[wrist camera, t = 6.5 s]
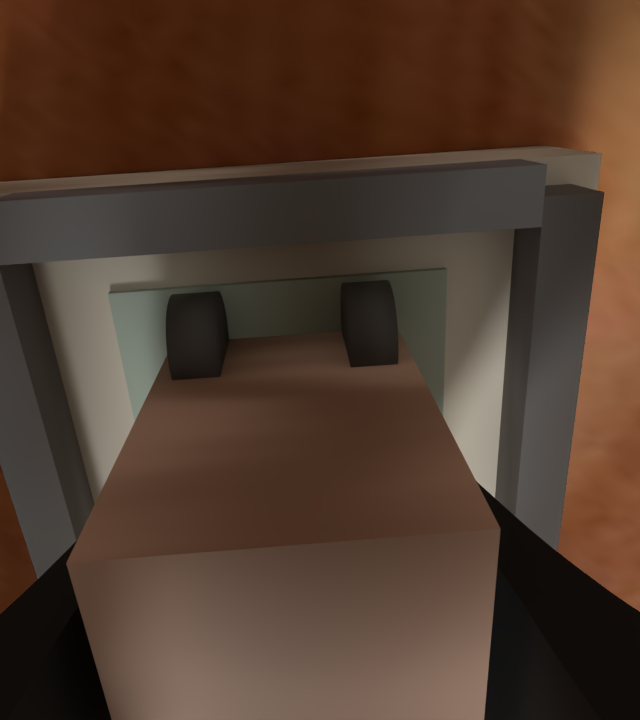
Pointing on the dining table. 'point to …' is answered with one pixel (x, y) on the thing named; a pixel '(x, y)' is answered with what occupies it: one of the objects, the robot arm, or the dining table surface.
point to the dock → (298, 303)
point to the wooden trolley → (289, 533)
